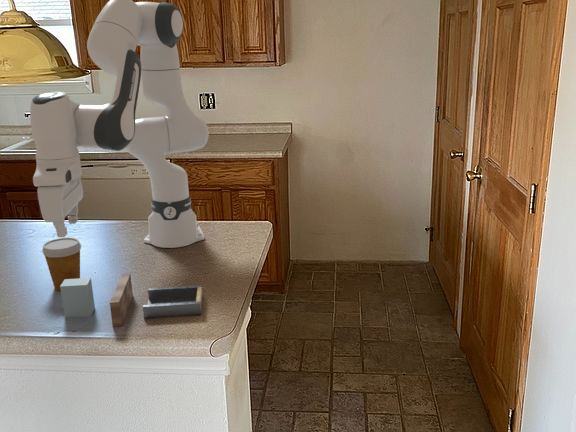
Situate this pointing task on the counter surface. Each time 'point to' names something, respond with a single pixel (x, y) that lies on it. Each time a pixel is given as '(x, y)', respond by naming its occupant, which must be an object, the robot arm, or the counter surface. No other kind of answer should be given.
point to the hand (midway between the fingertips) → (68, 229)
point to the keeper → (173, 302)
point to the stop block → (77, 297)
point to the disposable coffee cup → (62, 259)
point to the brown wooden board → (121, 300)
